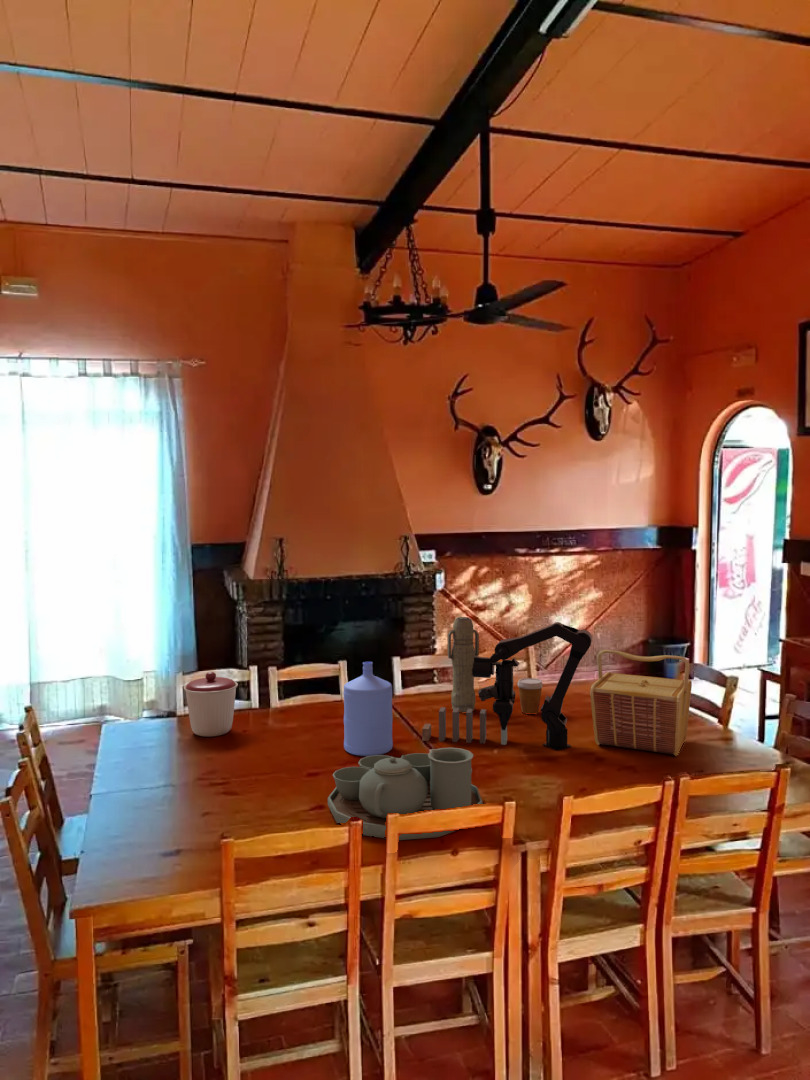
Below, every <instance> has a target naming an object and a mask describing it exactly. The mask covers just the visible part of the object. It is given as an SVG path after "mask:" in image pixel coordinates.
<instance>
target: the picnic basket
mask: <svg viewBox="0 0 810 1080" xmlns="http://www.w3.org/2000/svg"><path fill="white" fill-rule="evenodd" d="M604 654H614V655H619V656H621V657H623V658H625V659H629V660H633V661H636V662H637V661H639V662H660V661H662V660H666V659H672V660H681V661H682V662H683V663H684V665H685V667H684V674H683V675H684V678H683V679H676V678H667V677H659V676H658V677H657V676H645V675H635V674H625V673H619V672H617V673H615V672H611V671H607V672H606V673H604V674H603V667H602V656H603V655H604ZM596 659H597V660H596V661H597V673H598V674H597V675H598V676H597V677H598V679H597V680H596V681H595V682H593V683H592V685H591V686H590V692H589V693H590V694H589V696H590V703H591V714H592V722H593V723H592V726H593V732H594V741H595V743H596V745H598V746H599V745H600V744H601V745H605V746H612V747H617V748H618V747H619V748H625V749H633V750H640V751H646V752H654V753H661V754H668V755H674V757H678V756H679V754H680V752H681V751H680V748H681V745H682V743H683V742H685V743H686V739H687V735H688V723H689V716H690V705H691V696H692V687H693V685H692V684H693V683H692V680H691V679H690V678H689V677H690V668H691V667H690V666H691V665H690V662H689V660H688V659H686V657H684V656H678V655H669V654H667V655H666V654H665V655H664V654H663V655H654V656H642V655H636V654H635V655H634V654H631V653H628V652H624V651H620V650H612V649H603V650H600V651H599V652H598V653H597V655H596ZM679 751H680V752H679ZM678 753H679V754H678ZM677 755H678V756H677Z"/></svg>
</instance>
